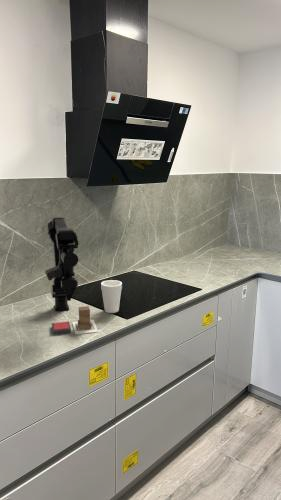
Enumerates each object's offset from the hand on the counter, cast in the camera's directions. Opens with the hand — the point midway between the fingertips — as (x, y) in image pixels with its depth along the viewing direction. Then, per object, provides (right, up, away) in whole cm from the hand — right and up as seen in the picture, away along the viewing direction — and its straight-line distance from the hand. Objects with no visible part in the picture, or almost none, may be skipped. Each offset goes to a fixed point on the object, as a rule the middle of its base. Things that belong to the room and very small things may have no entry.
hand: (67, 296), depth 163 cm
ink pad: (-2, -13, -4) cm, 14 cm away
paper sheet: (+7, -12, -1) cm, 14 cm away
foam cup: (+17, -9, +17) cm, 26 cm away
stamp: (+7, -12, -1) cm, 14 cm away
